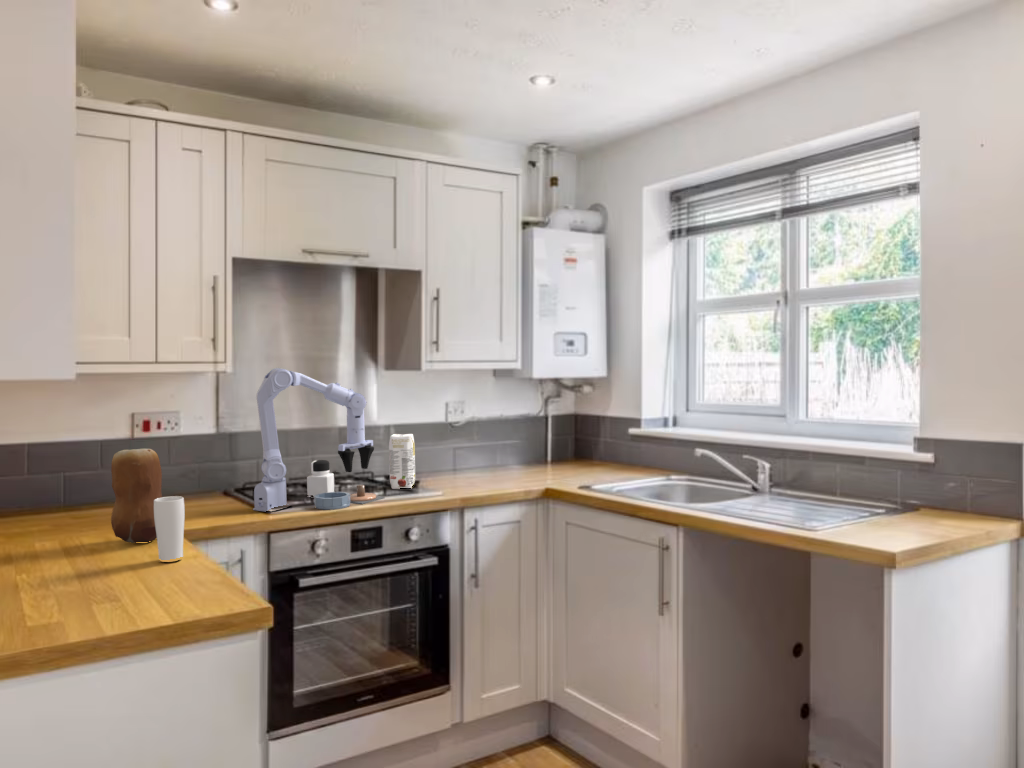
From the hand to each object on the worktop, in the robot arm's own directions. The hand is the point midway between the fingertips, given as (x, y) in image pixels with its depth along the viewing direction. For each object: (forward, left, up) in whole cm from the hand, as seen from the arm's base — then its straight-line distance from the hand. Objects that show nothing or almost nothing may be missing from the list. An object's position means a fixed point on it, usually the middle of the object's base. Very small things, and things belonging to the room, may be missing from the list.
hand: (356, 470), depth 256 cm
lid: (+1, -1, -9) cm, 9 cm away
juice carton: (+24, 0, -10) cm, 26 cm away
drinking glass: (-76, -10, -10) cm, 77 cm away
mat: (+1, -1, -10) cm, 10 cm away
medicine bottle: (0, +16, -10) cm, 19 cm away
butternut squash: (-69, +13, -10) cm, 71 cm away
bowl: (-11, 0, -10) cm, 15 cm away
